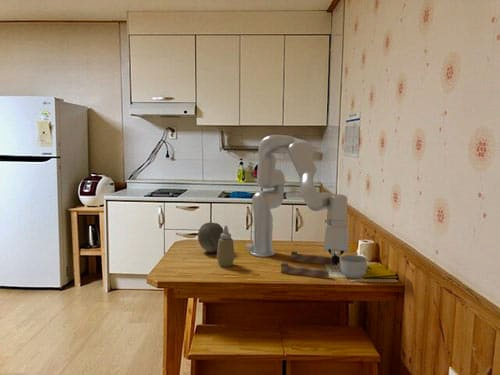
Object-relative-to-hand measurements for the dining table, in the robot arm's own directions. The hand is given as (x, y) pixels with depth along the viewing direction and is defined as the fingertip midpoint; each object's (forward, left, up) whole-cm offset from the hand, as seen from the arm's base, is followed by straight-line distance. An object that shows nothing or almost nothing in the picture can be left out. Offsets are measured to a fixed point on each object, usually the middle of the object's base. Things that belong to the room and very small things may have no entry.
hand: (335, 264), depth 169 cm
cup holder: (-12, 0, -3) cm, 12 cm away
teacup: (+8, -2, -3) cm, 9 cm away
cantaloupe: (-63, +7, -3) cm, 63 cm away
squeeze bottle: (-48, -10, -3) cm, 49 cm away
